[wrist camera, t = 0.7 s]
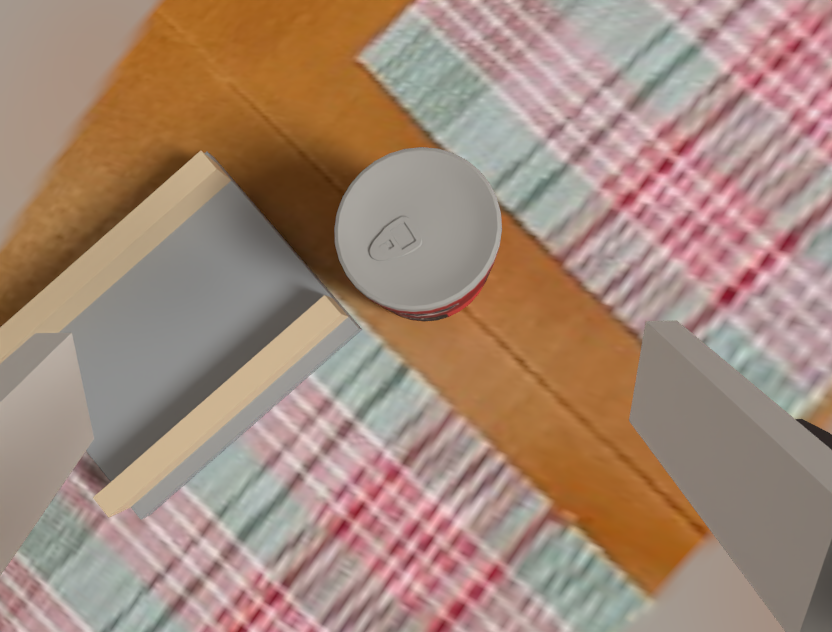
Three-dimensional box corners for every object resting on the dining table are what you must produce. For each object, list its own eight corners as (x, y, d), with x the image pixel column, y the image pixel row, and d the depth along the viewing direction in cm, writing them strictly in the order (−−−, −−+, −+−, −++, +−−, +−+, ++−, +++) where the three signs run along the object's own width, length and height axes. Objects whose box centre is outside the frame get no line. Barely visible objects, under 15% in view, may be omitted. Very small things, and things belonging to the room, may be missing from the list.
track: (214, 157, 41) (190, 138, 38) (362, 329, 40) (352, 327, 36) (9, 337, 42) (-34, 336, 38) (150, 514, 40) (119, 531, 37)
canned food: (342, 267, 40) (298, 236, 29) (425, 175, 40) (414, 110, 29) (430, 348, 40) (419, 347, 29) (515, 255, 40) (537, 218, 29)
